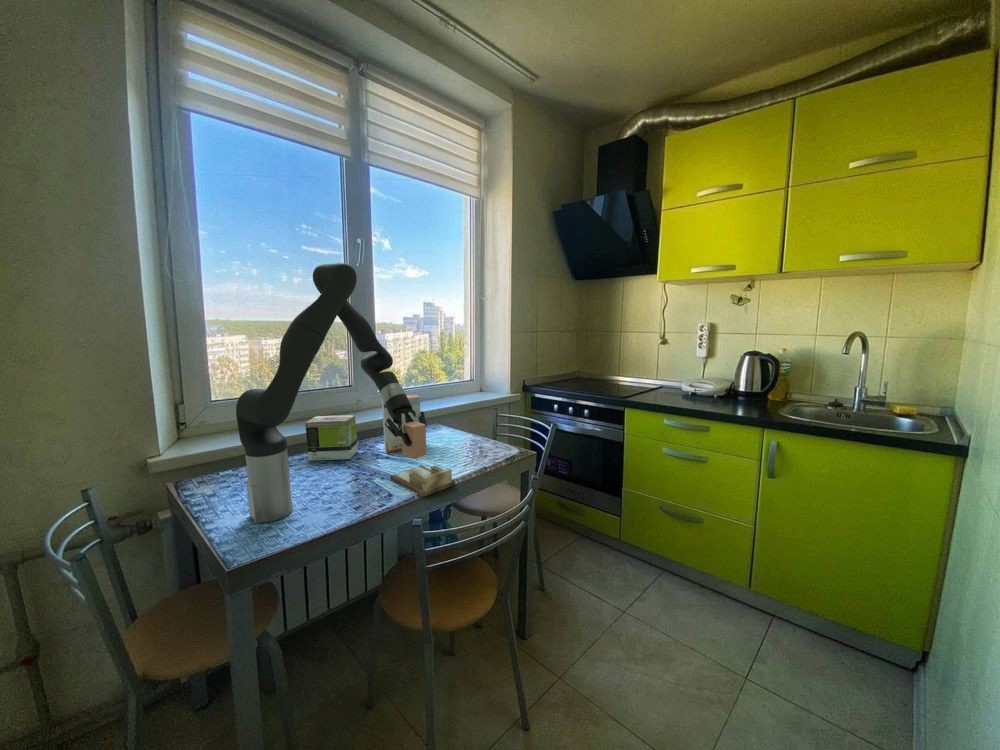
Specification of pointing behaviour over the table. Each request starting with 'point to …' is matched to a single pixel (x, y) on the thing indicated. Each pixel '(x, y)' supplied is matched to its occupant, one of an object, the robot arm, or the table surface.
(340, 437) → the tea box
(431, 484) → the board
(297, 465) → the table surface
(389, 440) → the cracker box
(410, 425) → the tall tan block
